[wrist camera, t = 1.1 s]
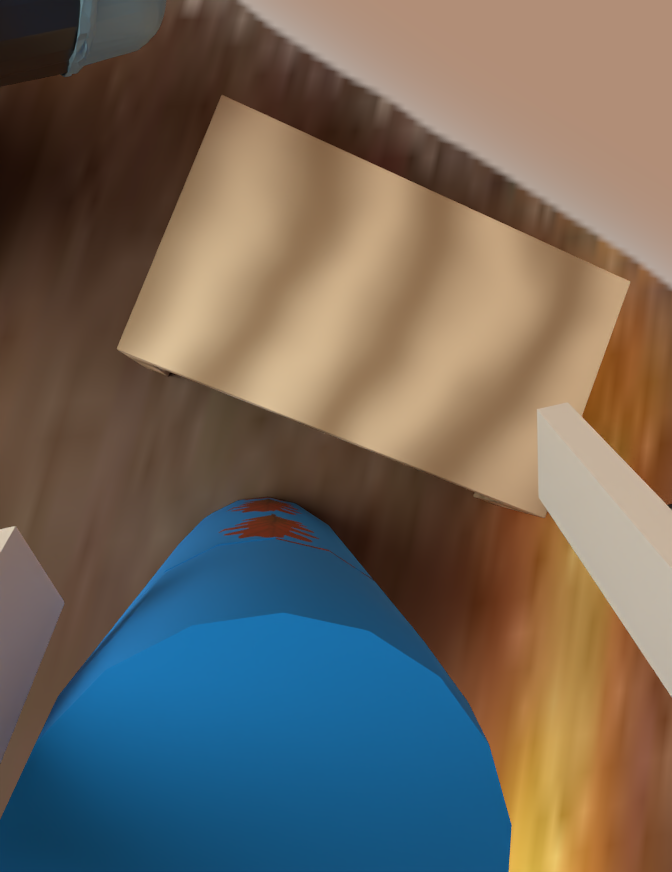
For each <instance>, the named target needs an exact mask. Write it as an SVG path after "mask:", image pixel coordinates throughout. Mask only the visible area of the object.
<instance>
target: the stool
mask: <svg viewBox="0 0 672 872" xmlns="http://www.w3.org/2000/svg"><path fill="white" fill-rule="evenodd" d="M629 285H630V281H628V280H626V279H623V278H621V277H619V276H617V275H615V274H613V273H610V272H608V271H606V270H604V269H602V268H599V267H597V266H595V265H593V264H591V263H588V262H586V261H584V260H582V259H580V258H578V257H575V256H573V255H571V254H569V253H567V252H564V251H562V250H560V249H558V248H556V247H554V246H551V245H549V244H547V243H545V242H543V241H540V240H538V239H536V238H534V237H532V236H529V235H527V234H525V233H523V232H521V231H519V230H516V229H514V228H512V227H510V226H508V225H505V224H503V223H501V222H499V221H497V220H494V219H492V218H490V217H488V216H486V215H484V214H481V213H479V212H477V211H475V210H473V209H470V208H468V207H466V206H464V205H462V204H460V203H457V202H455V201H453V200H451V199H449V198H446V197H444V196H442V195H440V194H438V193H435V192H433V191H431V190H429V189H427V188H425V187H422V186H420V185H418V184H416V183H414V182H411V181H409V180H407V179H405V178H403V177H400V176H398V175H396V174H394V173H392V172H390V171H387V170H385V169H383V168H381V167H379V166H376V165H374V164H372V163H370V162H368V161H365V160H363V159H361V158H359V157H357V156H355V155H352V154H350V153H348V152H346V151H344V150H341V149H339V148H337V147H335V146H333V145H331V144H328V143H326V142H324V141H322V140H320V139H317V138H315V137H313V136H311V135H309V134H306V133H304V132H302V131H300V130H298V129H296V128H293V127H291V126H289V125H287V124H285V123H282V122H280V121H278V120H276V119H274V118H271V117H269V116H267V115H265V114H263V113H261V112H258V111H256V110H254V109H252V108H250V107H247V106H245V105H243V104H241V103H239V102H237V101H234V100H232V99H230V98H228V97H226V96H223V95H222V96H221V98H220V100H219V103H218V105H217V108H216V110H215V113H214V115H213V117H212V120H211V122H210V125H209V127H208V129H207V132H206V134H205V137H204V139H203V142H202V144H201V146H200V149H199V151H198V154H197V156H196V158H195V161H194V163H193V166H192V168H191V171H190V173H189V175H188V178H187V180H186V183H185V185H184V187H183V190H182V192H181V195H180V197H179V200H178V202H177V204H176V207H175V209H174V212H173V214H172V216H171V219H170V221H169V224H168V226H167V229H166V231H165V233H164V236H163V238H162V241H161V243H160V245H159V248H158V250H157V253H156V255H155V258H154V260H153V262H152V265H151V267H150V270H149V272H148V274H147V277H146V279H145V282H144V284H143V287H142V289H141V291H140V294H139V296H138V299H137V301H136V303H135V306H134V308H133V311H132V313H131V316H130V318H129V320H128V323H127V325H126V328H125V330H124V332H123V335H122V337H121V340H120V342H119V345H118V347H117V350H119V351H120V352H122V353H123V354H125V355H126V356H128V357H130V358H131V359H133V360H134V361H136V362H137V363H139V364H140V365H142V366H143V367H145V368H148V369H150V370H153V371H155V372H158V373H161V374H163V375H166V376H168V375H169V373H170V372H171V373H174V374H176V375H179V376H181V377H184V378H187V379H189V380H192V381H194V382H197V383H199V384H202V385H204V386H207V387H209V388H212V389H214V390H217V391H219V392H222V393H225V394H227V395H230V396H232V397H235V398H237V399H240V400H242V401H245V402H247V403H250V404H252V405H255V406H258V407H260V408H263V409H265V410H268V411H270V412H273V413H275V414H278V415H280V416H283V417H285V418H288V419H290V420H293V421H296V422H298V423H301V424H303V425H306V426H308V427H311V428H313V429H316V430H318V431H321V432H323V433H326V434H329V435H331V436H334V437H336V438H339V439H341V440H344V441H346V442H349V443H351V444H354V445H356V446H359V447H361V448H364V449H367V450H369V451H372V452H374V453H377V454H379V455H382V456H384V457H387V458H389V459H392V460H394V461H397V462H400V463H402V464H405V465H407V466H410V467H412V468H415V469H417V470H420V471H422V472H425V473H427V474H430V475H433V476H435V477H438V478H440V479H443V480H445V481H448V482H450V483H453V484H455V485H458V486H460V487H463V488H465V489H468V490H471V491H473V492H475V493H474V496H473V497H476V498H478V499H481V500H483V501H486V502H489V503H491V504H494V505H497V506H501V507H505V508H509V509H512V510H516V511H520V512H524V513H527V514H531V515H535V516H539V517H542V518H545V517H546V514H547V509H546V508H545V506H544V505H543V503H542V502H541V500H540V499H539V493H538V441H537V409H540V408H544V407H549V406H553V405H558V404H562V403H567V402H568V403H569V404H570V405H571V406H572V407H573V408H574V409H575V410H576V411H577V412H578V413H579V414H580V415H581V416H582V414H583V412H584V409H585V406H586V403H587V401H588V398H589V395H590V392H591V390H592V387H593V384H594V381H595V378H596V376H597V373H598V370H599V367H600V365H601V362H602V359H603V356H604V354H605V351H606V348H607V345H608V343H609V340H610V337H611V334H612V332H613V329H614V326H615V323H616V320H617V318H618V315H619V312H620V309H621V307H622V304H623V301H624V298H625V296H626V293H627V290H628V287H629Z"/></svg>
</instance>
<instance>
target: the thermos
mask: <svg viewBox="0 0 672 872" xmlns="http://www.w3.org/2000/svg"><path fill="white" fill-rule="evenodd" d="M510 840H511V822H510V818H509V815H508V811H507V808H506V804H505V800H504V797H503V793H502V790H501V786H500V782H499V779H498V775H497V772H496V768H495V764H494V761H493V757H492V754H491V750H490V746H489V743H488V741H487V739H486V737H485V735H484V733H483V731H482V729H481V727H480V725H479V723H478V721H477V719H476V717H475V715H474V713H473V711H472V709H471V707H470V705H469V703H468V701H467V700H466V699H465V697H464V696H463V695H462V693H461V692H460V690H459V689H458V688H457V686H456V685H455V683H454V682H453V681H452V679H451V678H450V677H449V675H448V674H447V672H446V671H445V670H444V668H443V667H442V665H441V664H440V663H439V661H438V660H437V659H436V657H435V656H434V654H433V653H432V652H431V650H430V649H429V648H428V646H427V645H426V643H425V642H424V641H423V639H422V638H421V637H420V636H419V635H418V633H417V632H416V631H415V630H414V628H413V627H412V626H411V625H410V624H409V622H408V621H407V620H406V619H405V618H404V616H403V615H402V614H401V613H400V611H399V610H398V609H397V608H396V607H395V605H394V604H393V603H392V602H391V601H390V599H389V598H388V597H387V596H386V594H385V593H384V592H383V591H382V590H381V588H380V587H379V586H378V585H377V584H376V582H375V581H374V580H373V579H372V577H371V576H370V575H369V574H368V573H367V571H366V570H365V569H364V568H363V567H362V565H361V564H360V563H359V562H358V560H357V559H356V558H355V557H354V556H353V554H352V553H351V552H350V551H349V550H348V548H347V547H346V546H345V545H344V543H343V542H342V541H341V540H340V539H339V537H338V536H337V535H336V534H335V533H334V531H333V530H332V529H331V528H330V526H329V525H327V524H326V523H324V522H323V521H321V520H320V519H318V518H317V517H315V516H314V515H312V514H311V513H309V512H308V511H306V510H305V509H303V508H302V507H300V506H299V505H297V504H295V503H291V502H287V501H283V500H279V499H275V498H270V497H262V498H253V499H244V500H238V501H236V502H234V503H232V504H230V505H228V506H226V507H224V508H222V509H220V510H218V511H215V512H213V513H212V514H210V515H209V516H207V517H206V518H204V519H203V520H202V521H201V522H200V523H199V524H198V525H197V526H196V527H195V528H194V529H193V530H192V531H191V532H190V533H189V534H188V535H187V536H186V537H185V538H184V539H183V541H182V542H181V543H180V544H179V545H178V546H177V547H176V549H175V550H174V551H173V552H172V554H171V555H170V556H169V557H168V559H167V560H166V561H165V562H164V564H163V565H162V566H161V567H160V569H159V570H158V571H157V573H156V574H155V575H154V576H153V578H152V579H151V580H150V581H149V583H148V584H147V585H146V586H145V588H144V589H143V590H142V591H141V593H140V594H139V595H138V596H137V598H136V599H135V600H134V601H133V603H132V604H131V605H130V606H129V608H128V609H127V610H126V611H125V613H124V614H123V615H122V617H121V618H120V619H119V620H118V622H117V623H116V624H115V625H114V627H113V628H112V629H111V630H110V632H109V633H108V634H107V635H106V637H105V638H104V639H103V640H102V642H101V643H100V644H99V645H98V647H97V648H96V649H95V650H94V652H93V653H92V654H91V655H90V657H89V658H88V659H87V661H86V662H85V663H84V664H83V666H82V667H81V668H80V669H79V671H78V672H77V673H76V674H75V676H74V677H73V678H72V679H71V681H70V682H69V683H68V684H67V686H66V687H65V688H64V689H63V691H62V692H61V693H60V694H59V696H58V698H57V700H56V702H55V704H54V706H53V708H52V710H51V712H50V714H49V716H48V719H47V721H46V723H45V725H44V727H43V729H42V731H41V733H40V735H39V737H38V739H37V741H36V744H35V746H34V748H33V750H32V752H31V754H30V757H29V759H28V761H27V763H26V765H25V767H24V769H23V772H22V774H21V776H20V778H19V780H18V782H17V785H16V787H15V789H14V791H13V793H12V795H11V797H10V800H9V802H8V804H7V806H6V808H5V810H4V813H3V815H2V817H1V819H0V872H508V871H509V855H510Z"/></svg>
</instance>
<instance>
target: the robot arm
mask: <svg viewBox="0 0 672 872" xmlns="http://www.w3.org/2000/svg"><path fill="white" fill-rule="evenodd" d="M165 7H166V0H0V87H1V86H6V85H10V84H15V83H20V82H25V81H30V80H35V79H39V78H44V77H49V76H54V75H59V74H60V75H62V76H63V77H68V76H71V75H72V74H77V73H78V72H79V71H80V70H81V69H82V67H83V66H85V65H88V64H92V63H95V62H99V61H102V60H106V59H109V58H113V57H117V56H120V55H124V54H127V53H131V52H135V51H137V50H139V49H140V48H141V47H142V46H144V45H145V44H147V43H148V42H149V40H150V39H151V38H152V37H153V36H154V35H155V34H156V33H157V31H158V29H159V28H160V25H161V23H162V20H163V17H164V12H165ZM537 441H538V493H539V499H540V500H541V502H542V503H543V505H544V506H545V508H546V509H547V511H548V512H549V514H550V515H551V517H552V518H553V520H554V521H555V523H556V524H557V526H558V527H559V529H560V530H561V532H562V533H563V535H564V536H565V538H566V539H567V541H568V542H569V544H570V545H571V547H572V548H573V550H574V551H575V553H576V554H577V556H578V557H579V559H580V560H581V562H582V563H583V565H584V566H585V568H586V569H587V571H588V572H589V574H590V575H591V577H592V578H593V580H594V581H595V583H596V584H597V586H598V587H599V589H600V590H601V592H602V593H603V595H604V596H605V598H606V599H607V601H608V602H609V604H610V605H611V607H612V608H613V610H614V611H615V613H616V614H617V616H618V617H619V619H620V620H621V622H622V623H623V625H624V626H625V628H626V629H627V631H628V632H629V634H630V635H631V637H632V638H633V640H634V641H635V643H636V644H637V646H638V647H639V649H640V650H641V652H642V653H643V655H644V656H645V658H646V659H647V661H648V662H649V664H650V665H651V667H652V668H653V670H654V671H655V673H656V674H657V676H658V677H659V679H660V680H661V682H662V683H663V685H664V686H665V688H666V689H667V691H668V692H669V694H670V695H671V697H672V504H669V505H666V504H665V503H664V502H663V500H662V499H661V498H660V497H659V496H658V495H657V494H656V493H655V492H654V491H653V490H652V489H651V488H650V487H649V486H648V485H647V484H646V483H645V482H644V481H643V480H642V479H641V478H640V477H639V476H638V475H637V474H636V472H635V471H634V470H633V469H632V468H631V467H630V466H629V465H628V464H627V463H626V462H625V461H624V460H623V459H622V458H621V457H620V456H619V455H618V454H617V453H616V452H615V451H614V450H613V449H612V448H611V447H610V446H609V444H608V443H607V442H606V441H605V440H604V439H603V438H602V437H601V436H600V435H599V434H598V433H597V432H596V431H595V430H594V429H593V428H592V427H591V426H590V425H589V424H588V423H587V422H586V421H585V420H584V419H583V417H582V416H581V415H580V414H579V413H578V412H577V411H576V410H575V409H574V408H573V407H572V406H571V405H570V404H569V403H568V402H567V403H562V404H558V405H553V406H549V407H544V408H540V409H537ZM64 603H65V602H64V601H63V599H62V598H61V596H60V594H59V593H58V591H57V590H56V588H55V587H54V585H53V584H52V582H51V580H50V579H49V577H48V576H47V574H46V573H45V571H44V570H43V568H42V566H41V565H40V563H39V562H38V560H37V559H36V557H35V555H34V554H33V552H32V551H31V549H30V548H29V546H28V545H27V543H26V541H25V540H24V538H23V537H22V535H21V534H20V532H19V530H18V529H17V527H16V526H14V527H9V528H5V529H0V763H1V761H2V758H3V756H4V753H5V751H6V748H7V746H8V743H9V741H10V738H11V736H12V733H13V731H14V728H15V725H16V723H17V720H18V718H19V715H20V713H21V710H22V708H23V705H24V703H25V700H26V698H27V695H28V693H29V690H30V688H31V685H32V683H33V680H34V678H35V675H36V673H37V670H38V668H39V665H40V663H41V660H42V658H43V655H44V653H45V650H46V648H47V645H48V643H49V640H50V638H51V635H52V633H53V630H54V628H55V625H56V623H57V620H58V618H59V615H60V613H61V610H62V608H63V605H64Z"/></svg>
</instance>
